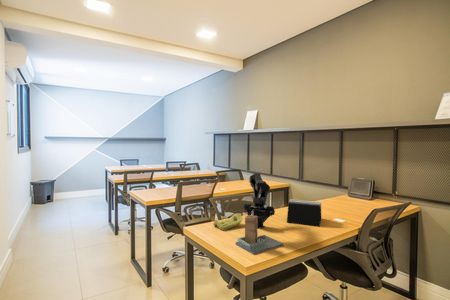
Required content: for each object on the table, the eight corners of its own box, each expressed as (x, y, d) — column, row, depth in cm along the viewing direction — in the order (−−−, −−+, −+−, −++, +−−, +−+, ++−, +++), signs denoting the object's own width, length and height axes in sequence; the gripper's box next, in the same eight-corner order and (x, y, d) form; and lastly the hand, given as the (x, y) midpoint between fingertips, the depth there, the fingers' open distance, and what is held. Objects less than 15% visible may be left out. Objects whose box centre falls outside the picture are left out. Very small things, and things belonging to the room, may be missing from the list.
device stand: (319, 227, 176) (319, 206, 176) (286, 223, 185) (287, 202, 185) (321, 218, 196) (321, 199, 196) (291, 215, 206) (292, 197, 205)
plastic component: (222, 227, 167) (214, 218, 174) (220, 236, 170) (212, 226, 177) (245, 220, 178) (237, 211, 185) (242, 228, 181) (235, 219, 188)
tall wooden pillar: (248, 240, 147) (248, 214, 147) (257, 242, 145) (257, 216, 144) (244, 243, 142) (245, 217, 142) (254, 245, 140) (254, 218, 140)
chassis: (264, 236, 156) (264, 231, 156) (283, 245, 143) (283, 239, 143) (235, 244, 144) (235, 238, 144) (253, 254, 131) (253, 248, 131)
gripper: (244, 190, 159) (237, 212, 149) (273, 193, 150) (268, 216, 141) (249, 200, 166) (242, 221, 156) (277, 203, 157) (271, 226, 148)
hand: (255, 221), depth 150 cm, fingers open, 9 cm apart
